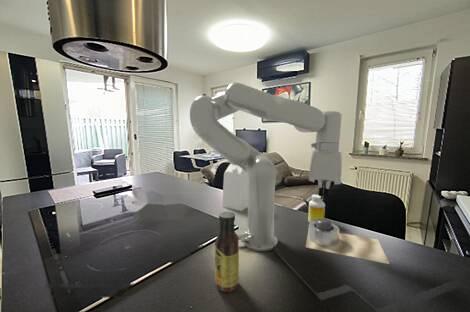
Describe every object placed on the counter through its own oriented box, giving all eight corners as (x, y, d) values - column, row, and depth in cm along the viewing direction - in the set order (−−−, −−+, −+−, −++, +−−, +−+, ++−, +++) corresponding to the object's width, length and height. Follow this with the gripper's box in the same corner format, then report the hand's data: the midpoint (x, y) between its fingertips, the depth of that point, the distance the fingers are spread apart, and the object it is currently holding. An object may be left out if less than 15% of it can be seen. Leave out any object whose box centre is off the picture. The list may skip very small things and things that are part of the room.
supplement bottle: (325, 228, 89) (327, 198, 88) (309, 226, 90) (310, 197, 89) (322, 221, 96) (323, 194, 94) (307, 220, 97) (308, 193, 96)
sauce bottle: (215, 277, 59) (214, 209, 57) (237, 276, 59) (237, 208, 57) (215, 295, 52) (214, 219, 50) (240, 293, 53) (240, 218, 51)
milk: (251, 204, 119) (251, 158, 116) (241, 211, 109) (241, 161, 106) (233, 200, 125) (233, 157, 122) (222, 206, 115) (221, 159, 112)
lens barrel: (321, 249, 71) (322, 234, 71) (303, 235, 80) (303, 222, 80) (344, 243, 74) (345, 230, 74) (324, 231, 84) (324, 219, 83)
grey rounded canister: (322, 241, 74) (323, 225, 73) (312, 234, 79) (313, 219, 78) (334, 239, 76) (334, 223, 75) (323, 232, 81) (324, 217, 80)
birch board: (305, 250, 72) (305, 247, 72) (308, 230, 87) (308, 227, 87) (389, 267, 63) (389, 264, 63) (377, 242, 78) (377, 239, 77)
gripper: (303, 146, 73) (300, 198, 75) (352, 149, 67) (347, 205, 69) (305, 145, 80) (302, 192, 82) (349, 148, 74) (345, 198, 76)
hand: (322, 198), depth 76 cm, fingers closed
